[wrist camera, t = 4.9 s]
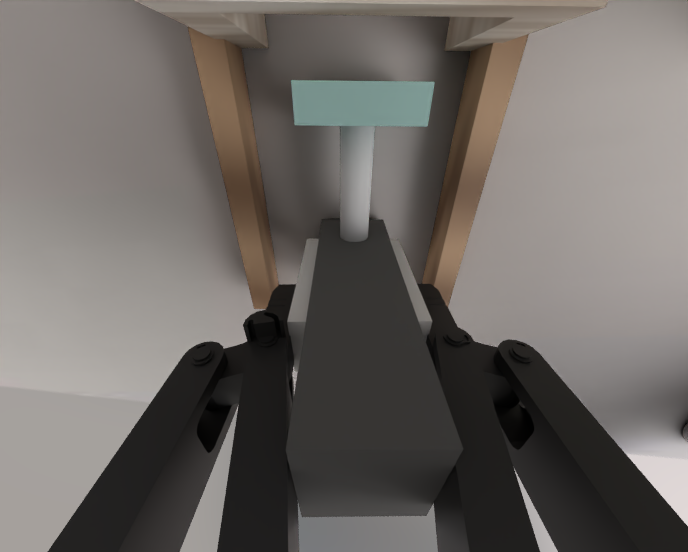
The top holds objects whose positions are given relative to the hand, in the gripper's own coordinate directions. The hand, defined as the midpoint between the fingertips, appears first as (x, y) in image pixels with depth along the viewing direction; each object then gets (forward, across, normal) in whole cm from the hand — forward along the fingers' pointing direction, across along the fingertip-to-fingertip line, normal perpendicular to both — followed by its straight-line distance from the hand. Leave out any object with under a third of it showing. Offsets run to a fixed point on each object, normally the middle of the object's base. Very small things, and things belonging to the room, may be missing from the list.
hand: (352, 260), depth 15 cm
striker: (+1, 0, -3) cm, 3 cm away
